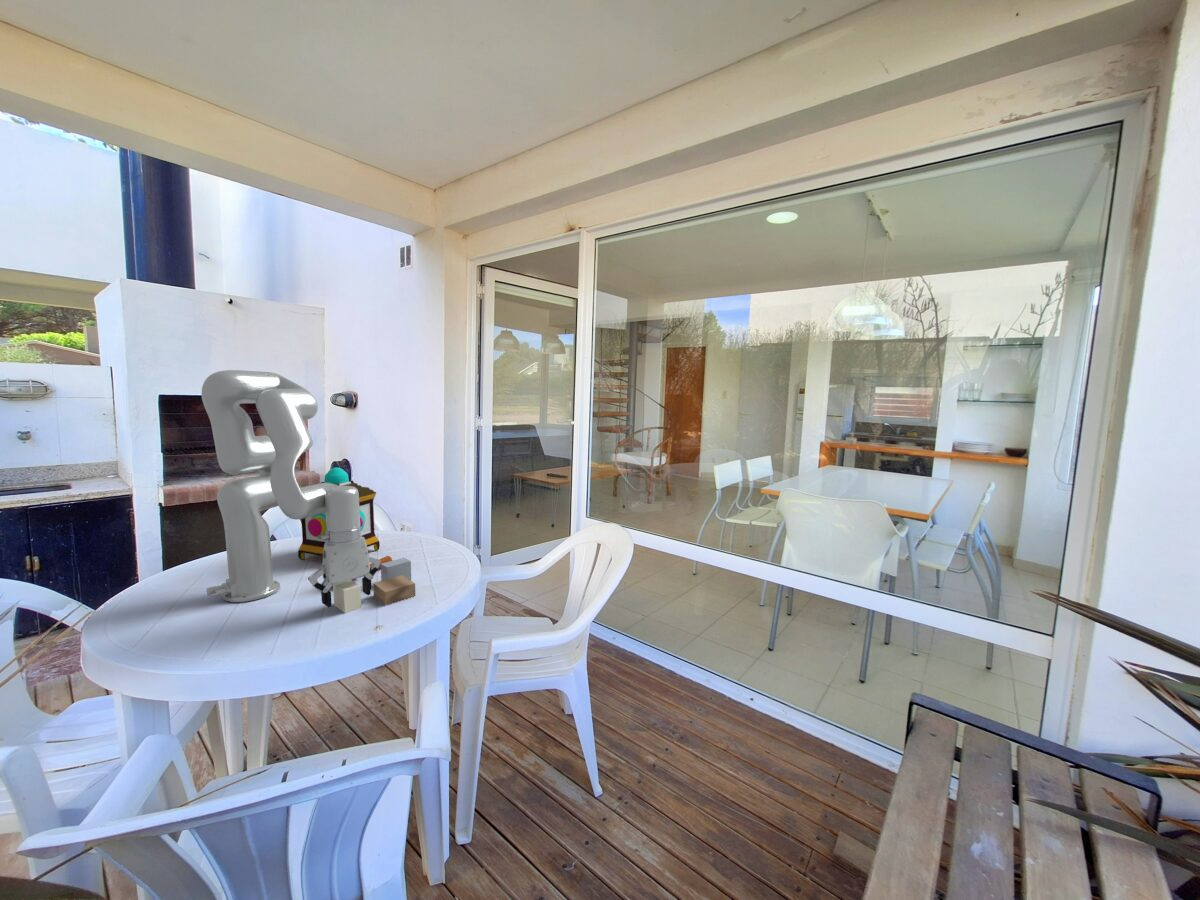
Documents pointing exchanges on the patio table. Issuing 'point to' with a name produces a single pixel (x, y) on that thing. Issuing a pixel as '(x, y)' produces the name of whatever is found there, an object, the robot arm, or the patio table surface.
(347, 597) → the cream brick
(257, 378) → the robot arm
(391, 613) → the patio table surface
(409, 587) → the walnut block
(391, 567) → the slate grey brick
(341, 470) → the decorative lantern
